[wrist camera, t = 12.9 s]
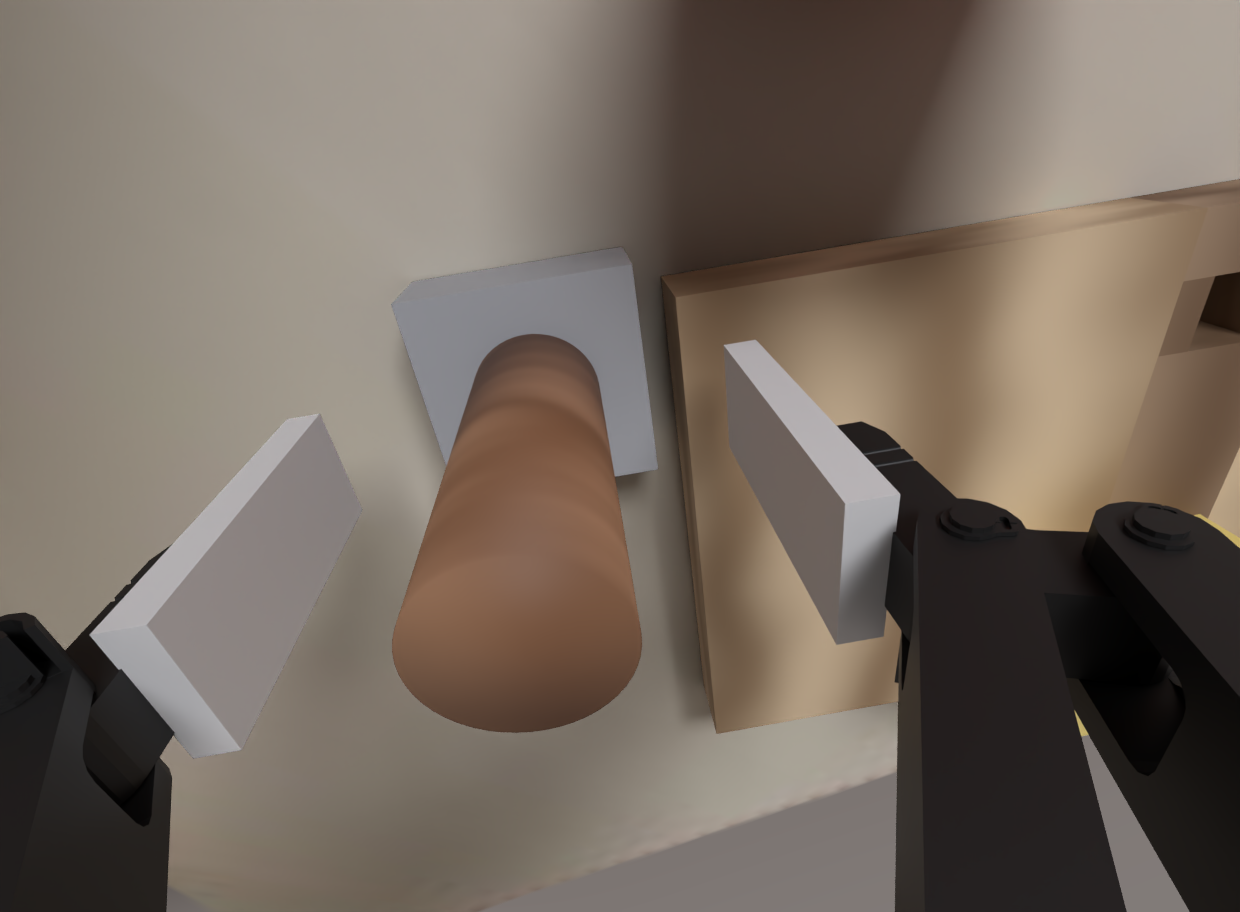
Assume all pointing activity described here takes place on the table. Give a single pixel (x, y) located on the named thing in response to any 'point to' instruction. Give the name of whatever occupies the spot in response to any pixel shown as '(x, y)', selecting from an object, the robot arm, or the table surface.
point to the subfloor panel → (959, 403)
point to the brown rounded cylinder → (523, 554)
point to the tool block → (533, 304)
